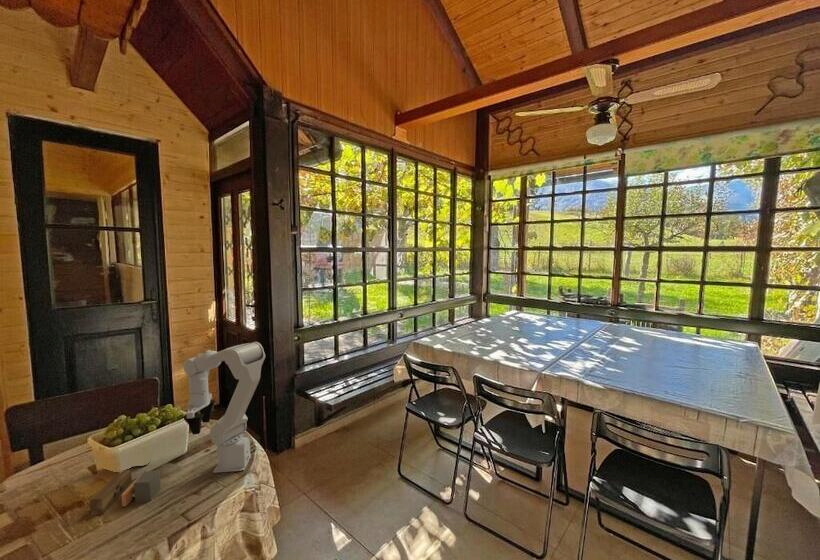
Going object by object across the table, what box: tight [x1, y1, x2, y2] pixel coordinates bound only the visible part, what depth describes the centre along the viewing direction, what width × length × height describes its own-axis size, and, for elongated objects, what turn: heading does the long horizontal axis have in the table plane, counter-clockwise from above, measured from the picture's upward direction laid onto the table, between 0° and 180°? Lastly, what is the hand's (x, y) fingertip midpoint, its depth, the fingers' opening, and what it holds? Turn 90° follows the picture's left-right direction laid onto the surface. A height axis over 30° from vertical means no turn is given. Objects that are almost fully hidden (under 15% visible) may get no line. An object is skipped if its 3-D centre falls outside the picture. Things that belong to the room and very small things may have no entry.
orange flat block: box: [120, 475, 141, 507], centre depth 102 cm, size 1×8×4 cm, turn 7°
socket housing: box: [89, 469, 133, 516], centre depth 101 cm, size 3×12×4 cm, turn 8°
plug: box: [131, 470, 162, 503], centre depth 102 cm, size 6×5×6 cm
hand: (201, 427), depth 122 cm, fingers open, 7 cm apart
